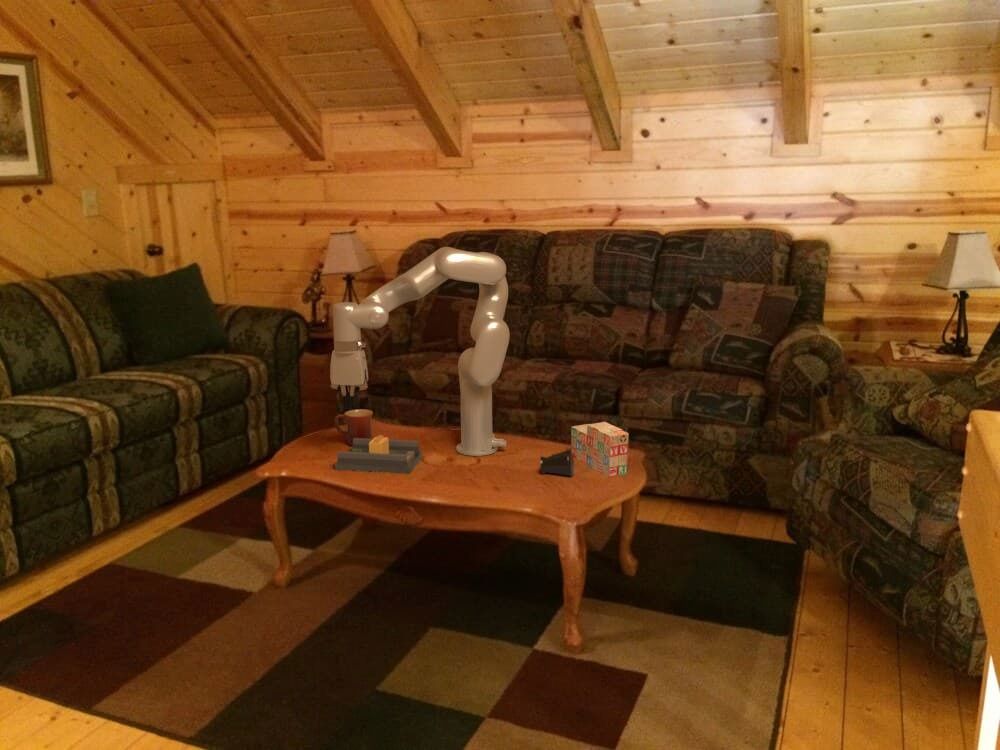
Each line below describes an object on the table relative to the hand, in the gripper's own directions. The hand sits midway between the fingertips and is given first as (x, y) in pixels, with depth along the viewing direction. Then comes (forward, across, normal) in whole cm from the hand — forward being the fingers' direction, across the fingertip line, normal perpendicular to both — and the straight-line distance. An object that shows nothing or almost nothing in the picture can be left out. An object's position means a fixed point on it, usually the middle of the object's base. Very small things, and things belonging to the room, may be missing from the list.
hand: (350, 408), depth 245 cm
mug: (+17, +5, -17) cm, 25 cm away
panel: (+16, -8, 0) cm, 18 cm away
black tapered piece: (+16, -61, -5) cm, 63 cm away
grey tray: (+14, -8, 0) cm, 17 cm away
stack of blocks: (+16, -71, -9) cm, 74 cm away
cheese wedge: (+14, -8, 0) cm, 16 cm away
